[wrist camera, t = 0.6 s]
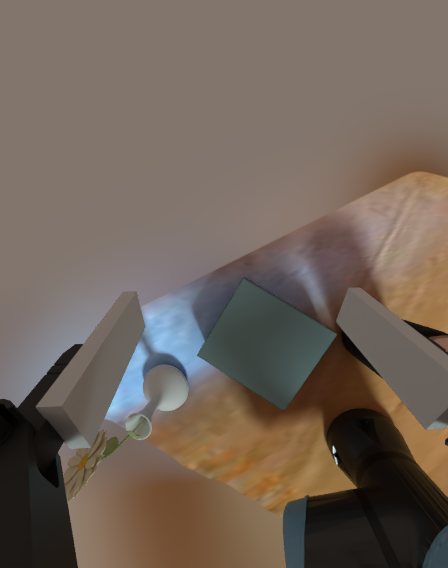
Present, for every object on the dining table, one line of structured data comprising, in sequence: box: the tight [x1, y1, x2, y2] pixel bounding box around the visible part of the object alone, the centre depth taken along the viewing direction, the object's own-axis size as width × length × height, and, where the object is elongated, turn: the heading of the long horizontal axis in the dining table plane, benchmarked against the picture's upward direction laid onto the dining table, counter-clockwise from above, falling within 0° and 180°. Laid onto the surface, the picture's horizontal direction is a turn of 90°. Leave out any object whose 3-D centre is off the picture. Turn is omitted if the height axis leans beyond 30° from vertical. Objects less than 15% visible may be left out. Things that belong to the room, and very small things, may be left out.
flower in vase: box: [64, 364, 189, 502], centre depth 37 cm, size 13×11×25 cm
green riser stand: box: [197, 278, 337, 411], centre depth 41 cm, size 20×18×8 cm
